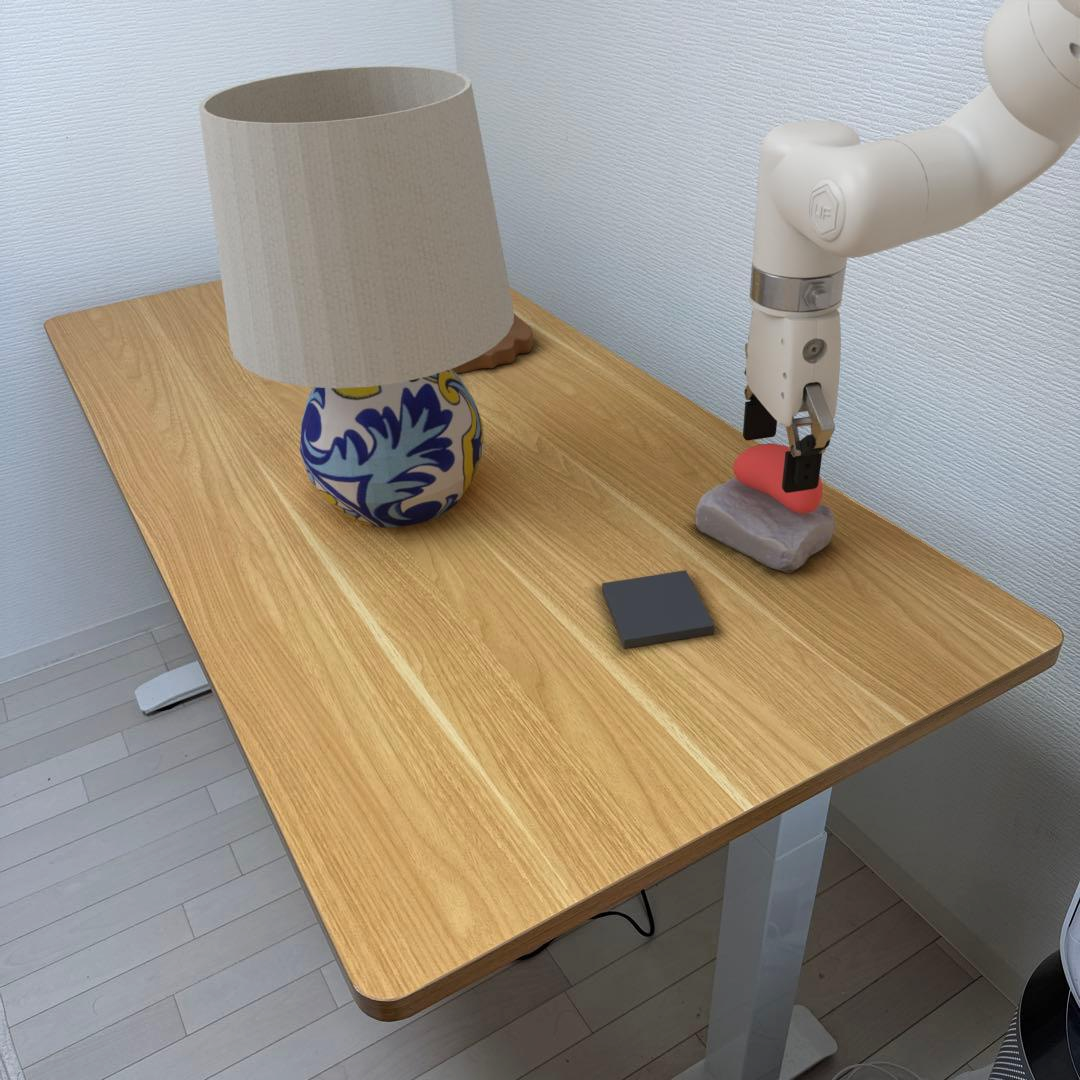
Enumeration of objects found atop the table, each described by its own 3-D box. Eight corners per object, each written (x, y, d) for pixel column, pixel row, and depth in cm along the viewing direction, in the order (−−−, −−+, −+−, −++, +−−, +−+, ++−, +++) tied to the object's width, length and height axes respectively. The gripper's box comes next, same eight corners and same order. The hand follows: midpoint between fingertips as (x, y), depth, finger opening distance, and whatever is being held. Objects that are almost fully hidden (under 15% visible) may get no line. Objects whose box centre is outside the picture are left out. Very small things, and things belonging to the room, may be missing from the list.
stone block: (744, 505, 102) (684, 529, 95) (754, 464, 99) (694, 486, 93) (840, 556, 95) (783, 585, 88) (854, 513, 92) (796, 539, 86)
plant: (366, 334, 138) (354, 258, 132) (491, 306, 145) (485, 232, 138) (411, 389, 124) (399, 306, 117) (548, 356, 130) (544, 275, 123)
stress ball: (779, 482, 97) (757, 429, 95) (844, 494, 89) (823, 436, 87) (742, 511, 96) (719, 457, 93) (806, 525, 88) (783, 468, 85)
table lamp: (288, 440, 114) (203, 73, 91) (515, 419, 116) (488, 52, 92) (257, 580, 92) (133, 143, 69) (537, 552, 94) (510, 114, 70)
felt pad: (685, 578, 89) (686, 569, 89) (713, 634, 83) (714, 625, 82) (601, 591, 89) (601, 583, 88) (624, 648, 82) (624, 640, 82)
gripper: (888, 317, 73) (858, 505, 83) (797, 247, 87) (780, 415, 97) (795, 329, 72) (775, 518, 82) (718, 256, 86) (709, 425, 96)
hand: (778, 462), depth 90 cm, fingers open, 9 cm apart
